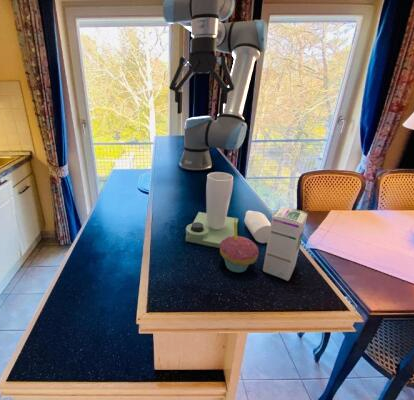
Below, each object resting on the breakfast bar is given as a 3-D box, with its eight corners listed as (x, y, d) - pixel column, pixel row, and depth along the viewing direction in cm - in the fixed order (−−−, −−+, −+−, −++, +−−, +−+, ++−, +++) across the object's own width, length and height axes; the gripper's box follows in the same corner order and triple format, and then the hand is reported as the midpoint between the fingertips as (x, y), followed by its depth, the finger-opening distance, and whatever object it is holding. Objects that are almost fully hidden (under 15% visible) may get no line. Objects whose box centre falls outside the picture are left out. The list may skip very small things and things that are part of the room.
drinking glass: (202, 230, 73) (206, 179, 66) (204, 218, 79) (208, 170, 72) (227, 233, 71) (233, 181, 65) (227, 221, 77) (233, 172, 71)
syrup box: (288, 282, 57) (304, 223, 50) (260, 271, 60) (272, 215, 54) (294, 267, 61) (309, 212, 54) (268, 258, 64) (279, 204, 58)
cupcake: (210, 265, 62) (214, 221, 56) (230, 250, 67) (236, 208, 62) (243, 284, 56) (252, 236, 51) (262, 265, 61) (271, 221, 56)
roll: (258, 220, 81) (260, 203, 78) (274, 243, 70) (278, 224, 67) (238, 220, 80) (240, 204, 78) (252, 243, 70) (255, 225, 67)
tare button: (193, 226, 73) (193, 221, 72) (203, 228, 72) (204, 223, 71) (190, 231, 70) (190, 226, 69) (201, 233, 69) (201, 228, 68)
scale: (197, 215, 84) (197, 207, 82) (237, 222, 79) (238, 213, 78) (183, 241, 71) (183, 232, 69) (230, 251, 66) (232, 241, 65)
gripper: (159, 38, 77) (159, 113, 87) (247, 33, 69) (238, 117, 78) (167, 41, 84) (167, 111, 93) (249, 36, 76) (240, 114, 85)
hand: (199, 114), depth 86 cm, fingers open, 13 cm apart
